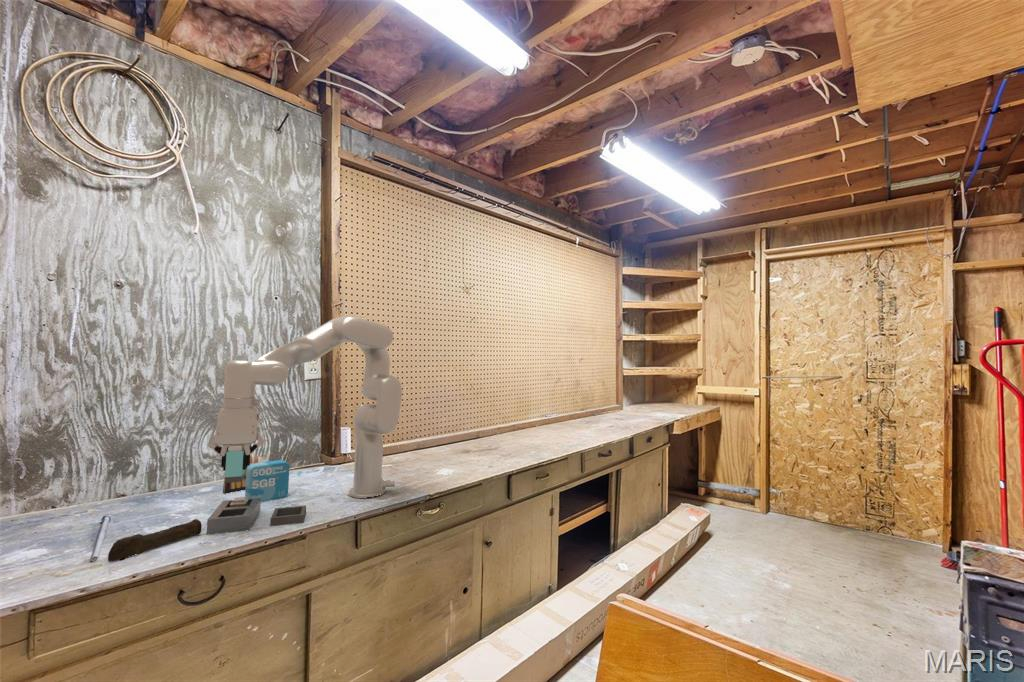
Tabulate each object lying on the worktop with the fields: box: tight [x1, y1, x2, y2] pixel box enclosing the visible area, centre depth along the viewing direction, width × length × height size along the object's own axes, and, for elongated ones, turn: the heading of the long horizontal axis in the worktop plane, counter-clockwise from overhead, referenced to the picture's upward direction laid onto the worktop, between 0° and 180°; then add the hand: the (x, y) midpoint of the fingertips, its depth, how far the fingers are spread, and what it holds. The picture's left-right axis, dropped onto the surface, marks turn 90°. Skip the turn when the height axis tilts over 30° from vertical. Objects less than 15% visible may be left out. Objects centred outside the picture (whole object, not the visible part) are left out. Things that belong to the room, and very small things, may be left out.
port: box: [206, 496, 262, 535], centre depth 124 cm, size 10×16×5 cm, turn 21°
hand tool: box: [107, 518, 203, 562], centre depth 107 cm, size 19×4×5 cm, turn 152°
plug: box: [224, 444, 245, 483], centre depth 121 cm, size 4×4×10 cm
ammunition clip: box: [222, 453, 259, 495], centre depth 153 cm, size 11×2×12 cm, turn 139°
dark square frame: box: [269, 505, 307, 527], centre depth 127 cm, size 8×8×2 cm
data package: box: [244, 459, 290, 503], centre depth 144 cm, size 12×4×12 cm, turn 134°
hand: (235, 468), depth 120 cm, fingers closed on plug, 4 cm apart
